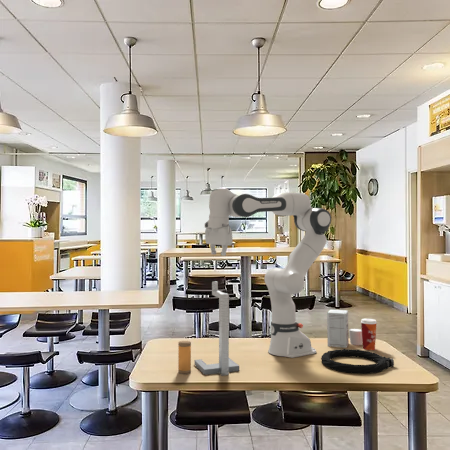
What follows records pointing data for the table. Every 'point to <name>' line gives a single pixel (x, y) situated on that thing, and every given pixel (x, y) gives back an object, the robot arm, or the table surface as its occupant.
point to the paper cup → (368, 333)
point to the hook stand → (223, 329)
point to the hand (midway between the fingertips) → (218, 255)
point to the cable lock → (359, 369)
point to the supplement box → (337, 328)
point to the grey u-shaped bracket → (214, 367)
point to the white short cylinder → (355, 336)
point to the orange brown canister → (184, 357)
